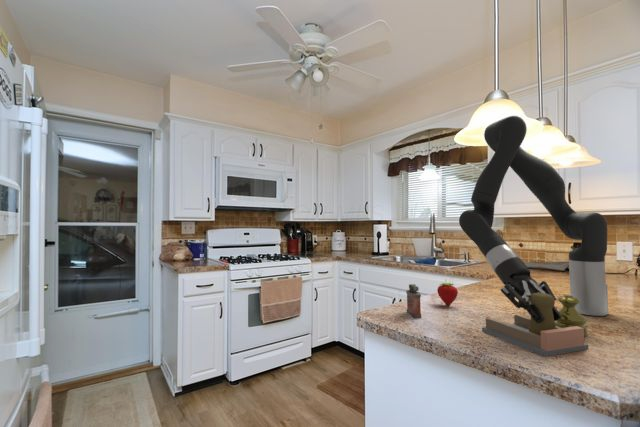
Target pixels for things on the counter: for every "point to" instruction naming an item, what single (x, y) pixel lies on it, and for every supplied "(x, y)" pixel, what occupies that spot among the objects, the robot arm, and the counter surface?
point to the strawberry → (447, 293)
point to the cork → (543, 313)
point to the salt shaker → (570, 314)
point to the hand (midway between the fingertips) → (549, 320)
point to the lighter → (413, 301)
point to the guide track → (537, 336)
